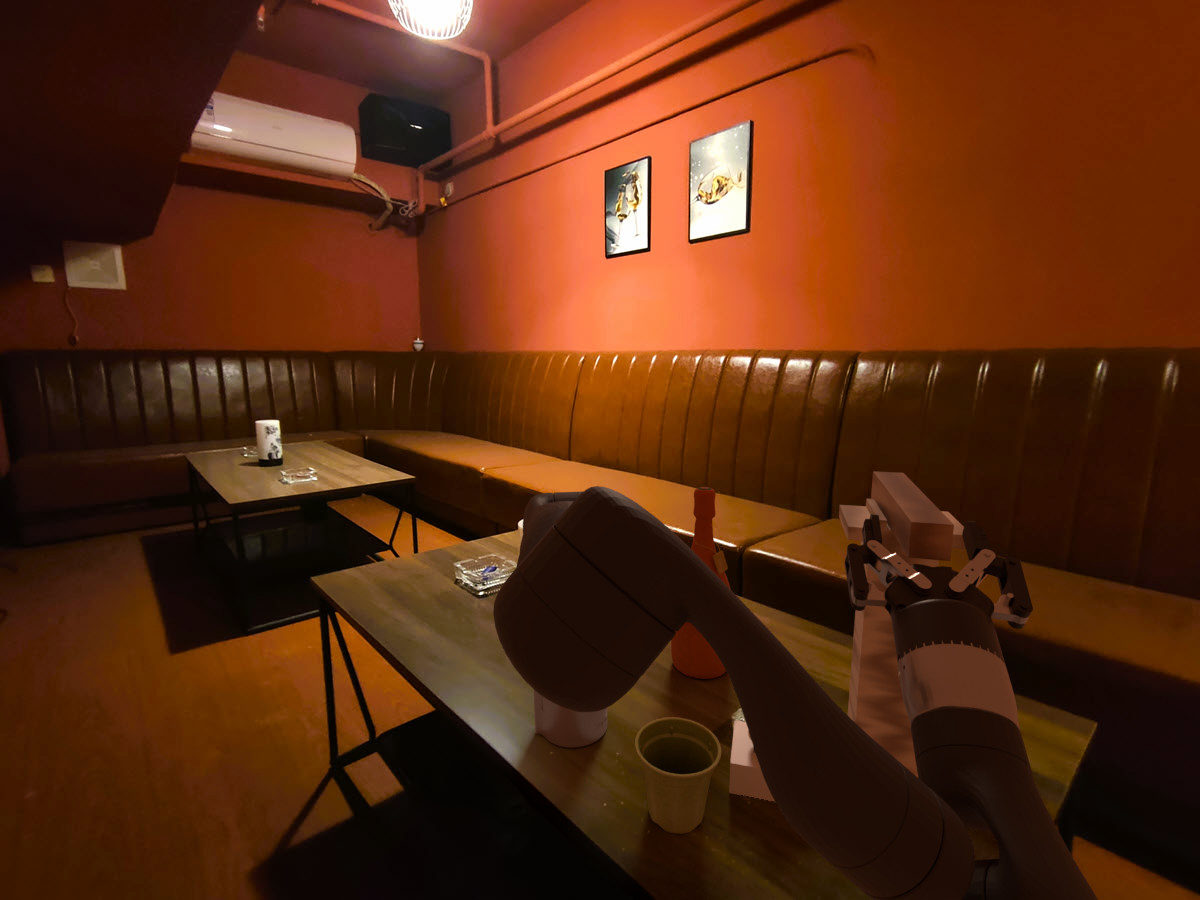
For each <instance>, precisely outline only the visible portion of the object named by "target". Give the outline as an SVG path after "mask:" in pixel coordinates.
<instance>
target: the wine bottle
mask: <svg viewBox="0 0 1200 900" xmlns="http://www.w3.org/2000/svg"><path fill="white" fill-rule="evenodd" d="M716 496H717V495H716V492H715V489H714V488H712V487H709V486H700V487H696V488H695V489H694V491H693V499H694V501H693V503H694V504H693V510H692V511H693V513H692V514H693V516H694V517H695V522H694V532H693V539H692V544H691V549H692V550H693V551H694V552H695V553H696V554H697V556H698V557H699V558H700V559H701V560H702V561H703V562H704V563H705V564H706V565H707V566H708V567H709V568H710V569H711V570H712V571H713V572H714V573H715V574H716V575H717V576H718V577H719V578H720V579H721V580H722V581H723V582H724V583H725V584H726V585H727V586H728V587H729V588H730V589H731V586H730V583H729V580H728V577H727V574H726V572H725V571H727V570H728V568H729V567H728V564H727V560H726V557H725V554H724V550H721V549H720V547H719V545H718V543H715V539H714V529H713V528H714V527H713V519H714V518H715V517H716V514H717V513H716V502H715V501H716ZM715 544H716V546H717V548H718V549H719V550H718V552H717V549H716V546H715ZM675 632H676V635H675V636H674V637H673V638H672V640H671V641H670V651H671V654H670V655H671V661H672V664H673V666H674V667H675V668H676V670H677V671H679V672H680V673H681V674H683V675H685V676H687V677H690V678H693V679H697V680H698V679H701V680H709V679H710V680H712V679H715V678H718V677H721V676H722V675H724V674H726V673H727V672H726V670H725V668H724V666H723V664H722V662H721V661H720V659H719V657H718V656H717V654H716V653H715V651H714V650H713V648H712V647H711V646H710V644H709V643H708V642H707V640H706V639H705V638H704V637H703V636H702V635H701V634H700V632H699V631H698V630H697V629H696V628H695V627H694V626H693V625H692V624H691V623H689V622H686V623H685V624H684V625H683V626H682V627H681V628H680V630H679V631H675Z"/></svg>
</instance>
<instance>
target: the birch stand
mask: <svg viewBox="0 0 1200 900" xmlns="http://www.w3.org/2000/svg"><path fill="white" fill-rule="evenodd" d="M838 510H839V511H838V517H839V520H840V524H841V525H842V529H843V531H844V534H845V537H846V539H847V540H848V541H859V542H860V545H863V536H862V529H863V524H864V521H865V519H870V515H871V514H877V515H879V520H880V527H881V534H882V546H884V547H885V548H886V549H887V550H888V551H889V552H890V553H892V554H894V553H895V554H897V555H899V556H900V557H901V558H902V559H903V560H904V561H905V562H907V563H908V564H909V565H910V566H913V564H923V565H926V566H930V567H939V561H940V560H930V559H918V558H908V557H907V555H906V553H905V552H904V550H903V548H902V547H901V545H900V544H899V542H898V540H897V539H896V537H895V535H894V534H893V532H892V531H891V529H890V527H889V526H888V524H887V520H886V518H885V516H884V515H883V513H882V512H881V510H880V508H879V507H878V505H877V504H876V502H875V500H874V499H872V498H866V500H865V505H864V506H863V505H850V504H847V505H846V504H839V509H838ZM940 511H941V512H942V513H943V514H944V515H945V516H946V517H947V518H948V519H949V520H950V521H951V522H952V523H953V524H954V530H953V540H952V549H960V550H966V548H965V544H964V541H963V537H962V532H963V529H964V525H962V523H961V522H959V520H958V519H956V518H955V516H954V515H952V514H951V513H950V512H949V511H944V510H943V511H942V510H940ZM864 567H865V572H866V577H867V580H868V579H870V580H872V582H873V583H874V584H875V586H876V588H877V589H878V590H879V591H881V592H885V590H886V589H887V588H886V587H885V586H884V585H883V584H882V583H881V582H880V580H879V577H878V575H877V574H876V573H875V572H874V571H873V570H872V569H871V568H870V567H869V566H867V565H866V564H864ZM898 576H899V574H898V573H896V577H898ZM851 652H852V655H851V664H850V665H851V666H850V681H849V691H848V693H849V694H848V707H847V708H848V709H847V715H848V716H849V717H850V718H851V719H852V720H853V721H854V722H855V723H856V724H857V725H858V726H859V727H860V728H861V729H863V730H864V731H865V732H866V733H867V734H868V735H869V736H870V737H871V738H872V739H874V740H875V741H876V742H877V743H878V744H879V745H881V746H882V747H883V748H884V749H885V750H886V751H888V752H889V753H890V754H891V755H892V756H893V757H894V758H896V759H897V760H898V761H899V762H900V763H901V764H903V765H904V766H905V767H906V768H907V769H908V770H910V771H911V772H912V773H913V774H914V775H915V776H916V777H918V774H917V766H916V760H915V754H914V747H913V740H912V733H911V727H910V722H909V718H908V715H907V711H906V708H905V705H904V701H903V696H902V689H901V687H900V684H899V678H898V674H899V668H898V661H897V654H896V647H895V640H894V633H893V627H892V619H891V616H890V614H889V612H888V611H887V610H886V609H885V607H884V606H868V605H866V606H865V609H864V610H862V611H857V610H855V613H854V625H853V640H852V651H851Z"/></svg>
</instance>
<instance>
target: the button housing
mask: <svg viewBox="0 0 1200 900" xmlns="http://www.w3.org/2000/svg"><path fill="white" fill-rule="evenodd" d="M733 725H734V726H733V734H732V743H731V751H730V752H731V753H730V760H729V761H730V763H729V764H730V765H729V789H728V790H729V791H728V792H729V794H733V795H737V796H741V795H743V796H742V797H746V796H749V797H748V798H751V797H754V798H753V799H756V798H759V799H758V800H761V799H764V800H763V801H766V800H768V801H767V802H771V801H775V800H774V799H773V797H772V795H771V793H770V791H769V789H768V786H767V784H766V782H765V779H764V777H763V774H762V771H761V768H760V765H759V762H758V759H757V756H756V753H755V750H754V747H753V743H752V741H751V740H750V738H749V736H748V727H747V724H746V721H741V720H736V719H735V720H734V724H733ZM744 795H745V796H744Z"/></svg>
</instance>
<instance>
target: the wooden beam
mask: <svg viewBox="0 0 1200 900" xmlns="http://www.w3.org/2000/svg"><path fill="white" fill-rule="evenodd" d="M871 484H872V485H871V492H870V493H871V494H870V499H874V500H875V502H876V504H877V505H878V507H879V508H880V510H881V512H882V513H883V515H884V516H885V518H886V520H887V524H888V526H889V527H890V529H891V531H892V532H893V534H894V535H895V537H896V539H897V540H898V542H899V544H900V545H901V547H902V548H903V550H904V552H905V553H906V555H907V557H908V558H918V559H930V560H939V561H943V562H945V561H946V562H951V557H952V550H953V548H952V540H953V530H954V524H953V523H952V522H951V521H950V520H949V519H948V518H947V517H946V516H945V515H944V514H943V513H942V512H941V511H942V510H940V509H939V508H938V506H937V505H935V503H933V501H931V500H930V498H928V497H927V496H926V494H925V493H923V491H922V490H921V489H920V488H919V487H918V486H917V485H916V484H915V483H914V482H913V481H912V480H911V479H910V478H909V477H908V476H907V475H906V474H905V473H904V472H892V471H874V470H873V472H872V483H871Z"/></svg>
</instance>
